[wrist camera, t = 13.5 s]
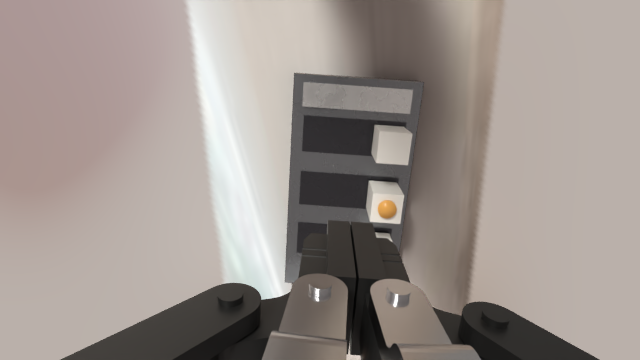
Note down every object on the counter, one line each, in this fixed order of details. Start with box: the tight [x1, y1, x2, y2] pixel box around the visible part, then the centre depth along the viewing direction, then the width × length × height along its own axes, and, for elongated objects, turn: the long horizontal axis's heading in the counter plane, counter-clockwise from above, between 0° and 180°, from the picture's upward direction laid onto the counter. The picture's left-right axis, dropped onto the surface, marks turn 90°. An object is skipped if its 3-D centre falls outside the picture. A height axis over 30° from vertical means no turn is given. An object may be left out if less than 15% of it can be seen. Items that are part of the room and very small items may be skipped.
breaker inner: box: [371, 125, 412, 165], centre depth 36 cm, size 3×3×4 cm
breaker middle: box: [366, 180, 404, 224], centre depth 38 cm, size 3×3×4 cm
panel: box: [285, 73, 424, 283], centre depth 41 cm, size 24×13×2 cm, turn 176°
